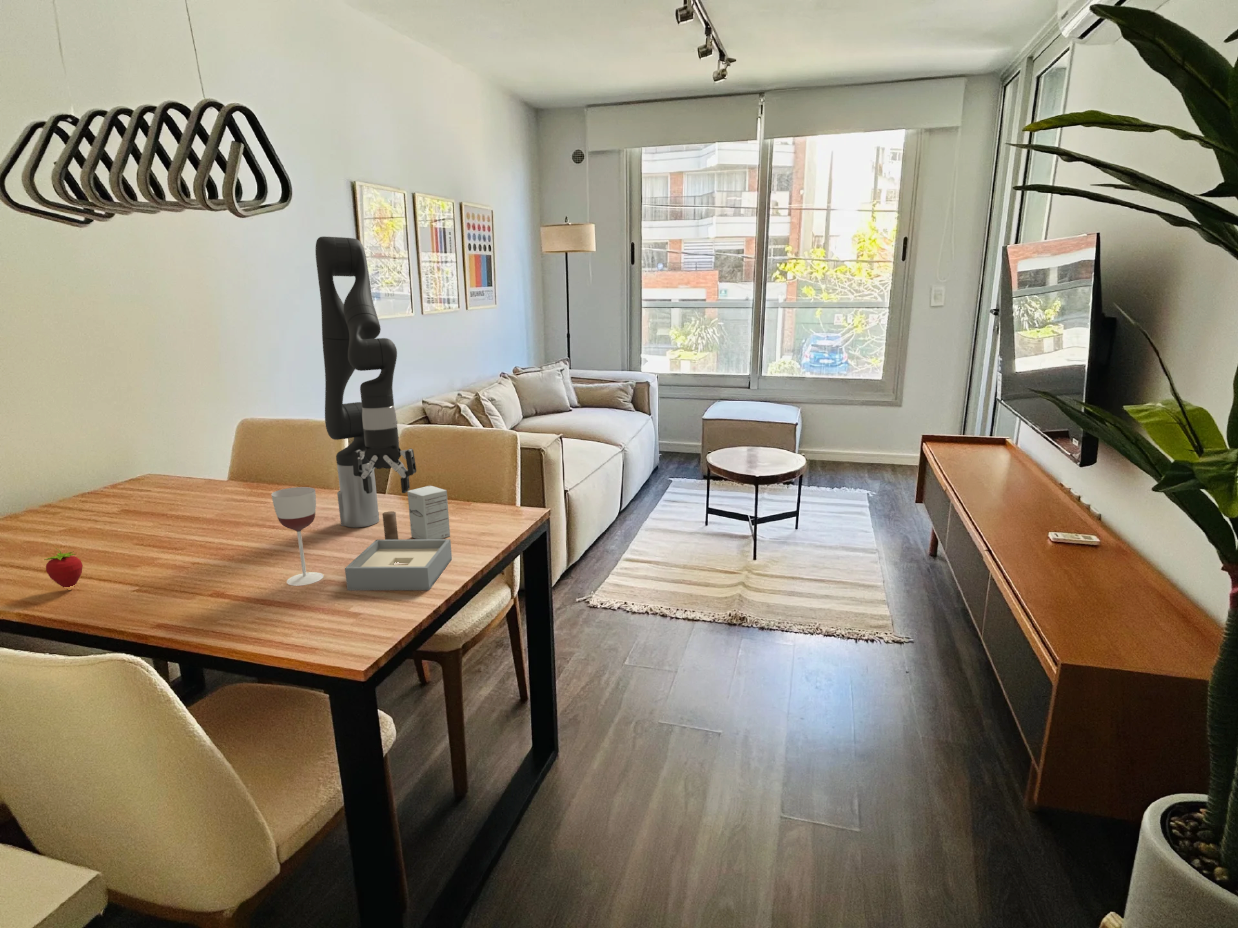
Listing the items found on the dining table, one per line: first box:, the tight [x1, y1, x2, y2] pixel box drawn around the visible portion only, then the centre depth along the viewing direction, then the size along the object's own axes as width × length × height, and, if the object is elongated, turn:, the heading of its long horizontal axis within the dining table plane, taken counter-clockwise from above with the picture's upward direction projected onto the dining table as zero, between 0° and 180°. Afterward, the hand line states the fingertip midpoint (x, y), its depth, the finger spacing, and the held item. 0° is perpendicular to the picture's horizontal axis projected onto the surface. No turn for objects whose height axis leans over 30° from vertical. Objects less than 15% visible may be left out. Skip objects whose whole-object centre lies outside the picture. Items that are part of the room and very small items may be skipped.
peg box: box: [344, 538, 453, 591], centre depth 154 cm, size 18×18×5 cm
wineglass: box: [271, 486, 324, 587], centre depth 151 cm, size 8×9×20 cm
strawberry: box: [44, 547, 84, 588], centre depth 148 cm, size 6×8×10 cm
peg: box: [382, 510, 399, 540], centre depth 167 cm, size 3×3×10 cm
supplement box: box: [406, 485, 451, 539], centre depth 177 cm, size 7×7×13 cm
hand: (387, 492), depth 164 cm, fingers open, 8 cm apart
